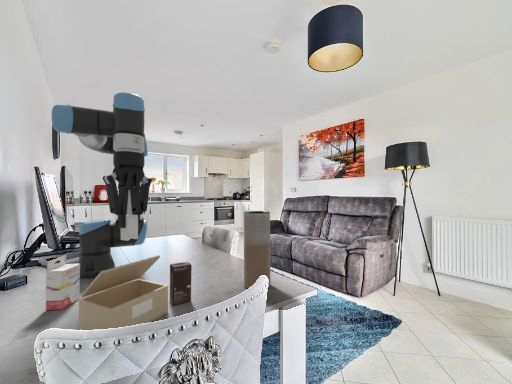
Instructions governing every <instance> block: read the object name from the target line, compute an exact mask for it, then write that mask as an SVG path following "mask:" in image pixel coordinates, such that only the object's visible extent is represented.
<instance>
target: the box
mask: <svg viewBox="0 0 512 384" xmlns="http://www.w3.org/2000/svg"><path fill="white" fill-rule="evenodd" d="M191 301H192V264H191V263H190V262H189V261H184V262H175V263H170V264H169V303H171V305H172V306H176V305H179V304H183V303H189V302H191Z"/></svg>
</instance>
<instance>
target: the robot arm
mask: <svg viewBox="0 0 512 384" xmlns="http://www.w3.org/2000/svg"><path fill="white" fill-rule="evenodd" d="M112 103H113V104H112V107H113V108H112V110H105V109H104V110H103V109H96V108H90V107H81V106H74V105H73V106H72V105H70V104H67V105H65V104H55V105H53V107H52V109H51V122H52V127H53V129H54V131H56V132H57V133H63V134H68V135H69V134H72V135H73V134H74V135H75V137H77V138H78V139H79V140H78V141H79V142H80V143H81V144H82V145H83V146H84V147H85V148H88V149H89V150H93V151H96V152H98V153H102V154H109V155H112V157H113V158H112V160H113V161H112V163H113V166H114V168H113V170H112V173H110V174H108V175H103V176H102V180H103V182H104V184H105V186H106V192H107V193H106V194H107V200H108V207H109V208H108V209H109V212H110V214H114V215H115V216H116V218H115V221H111V218H106V219H97V220H91V221H87V222H83V223H81V225H80V226H79V233H78V237H79V238H78V239H79V251H78V252H80V256H78V257H79V258H78V259H77V260H78V263H77V264H80V279H87V278H96V277H97V275H98V274H99V273H100V272H101V271H104V270H108V269H112V268H115V267H116V265H115V262H114V259H113V257H112V252H111V248H119V247H130V246H131V247H132V246H133V247H134V246H140V245H142V244H144V243H145V240H146V235H147V227H148V221H147V220H145V217H144V216H143V214H144V213H145V212H147V210H148V205H149V204H148V202H149V195H150V187H151V184H152V182H153V178H151V177H147V176H146V174H145V171H144V167H145V157H147V156H148V144H147V138H146V134H145V110H146V109H145V101H144V99H143V98H142V97H141V95H138V94H136V93H135V94H134V93H131V92H117V93H115V94H114V95H113V101H112Z"/></svg>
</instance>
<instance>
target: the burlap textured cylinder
mask: <svg viewBox="0 0 512 384" xmlns="http://www.w3.org/2000/svg"><path fill="white" fill-rule="evenodd" d="M261 275H266V276H267V277H268V279H269V288H270V287H271V212H270V211H266V210H251V211H250V210H249V211H248V210H247V211H243V282H244V283H243V284H244V288H245V289H247V288H249V287H250V286H252V285H253V284H254V283H255V282H256V280H257V279H258V278H259V276H261Z"/></svg>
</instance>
